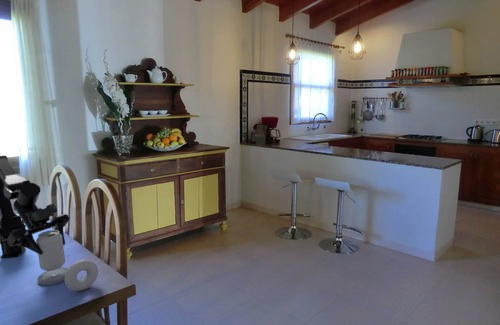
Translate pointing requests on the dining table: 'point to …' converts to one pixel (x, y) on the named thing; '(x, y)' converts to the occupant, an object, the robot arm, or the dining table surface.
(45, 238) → the can
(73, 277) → the donut
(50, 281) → the dish
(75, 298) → the dining table surface
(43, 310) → the dining table surface
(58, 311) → the dining table surface
